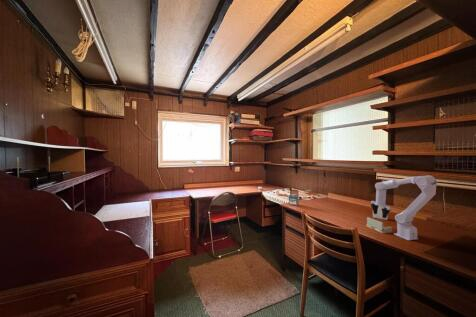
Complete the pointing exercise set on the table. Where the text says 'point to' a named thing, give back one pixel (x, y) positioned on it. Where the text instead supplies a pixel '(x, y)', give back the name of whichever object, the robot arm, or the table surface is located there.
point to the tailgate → (375, 223)
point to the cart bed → (385, 230)
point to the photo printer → (379, 214)
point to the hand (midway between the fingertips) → (379, 215)
